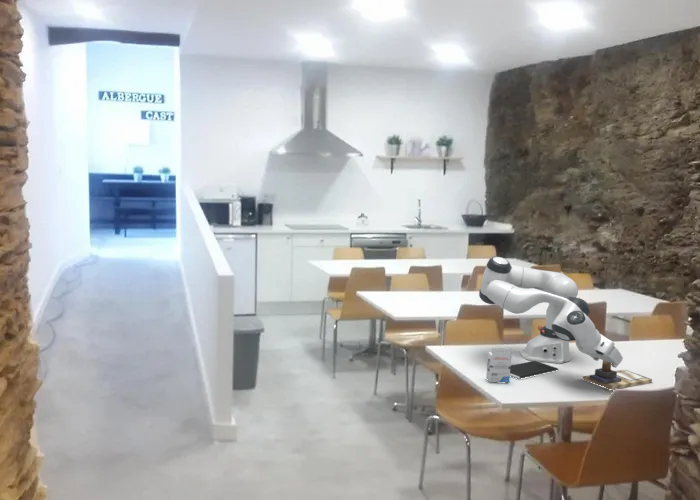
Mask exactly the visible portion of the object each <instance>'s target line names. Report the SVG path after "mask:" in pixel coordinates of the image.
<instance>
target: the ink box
mask: <svg viewBox="0 0 700 500" xmlns="http://www.w3.org/2000/svg"><path fill="white" fill-rule="evenodd" d="M500 351H501V352H500ZM502 351H503V352H502ZM486 364H487V365H486V376H485V378H487V379H488V380H487V379H486V380H487V381H488V383H490V382H509V383H510V378H511V377H510V367H511V364H512V348H511V347H509V348H508V347H492V349H491V351H488V352H487V362H486Z"/></svg>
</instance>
